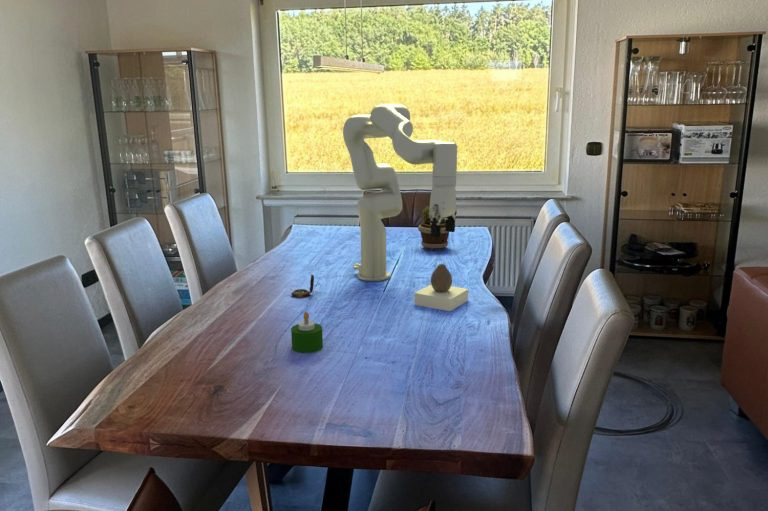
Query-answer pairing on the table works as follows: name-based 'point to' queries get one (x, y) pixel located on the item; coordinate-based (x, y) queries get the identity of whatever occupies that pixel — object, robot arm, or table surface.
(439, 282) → the vase
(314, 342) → the candle
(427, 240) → the flowerpot
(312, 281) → the compass
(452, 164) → the robot arm
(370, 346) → the table surface
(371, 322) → the table surface
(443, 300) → the plinth
